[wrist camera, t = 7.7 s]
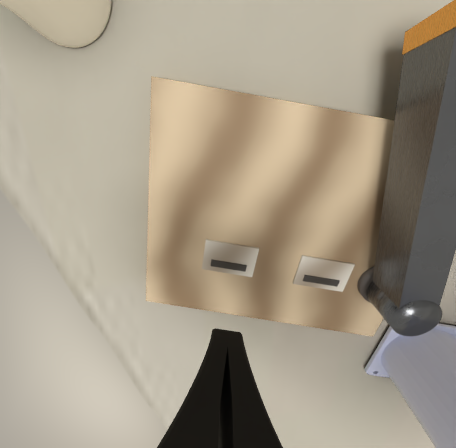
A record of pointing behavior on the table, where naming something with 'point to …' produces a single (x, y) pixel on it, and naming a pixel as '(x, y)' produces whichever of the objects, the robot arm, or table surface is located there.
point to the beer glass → (64, 19)
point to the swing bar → (420, 182)
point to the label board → (264, 206)
